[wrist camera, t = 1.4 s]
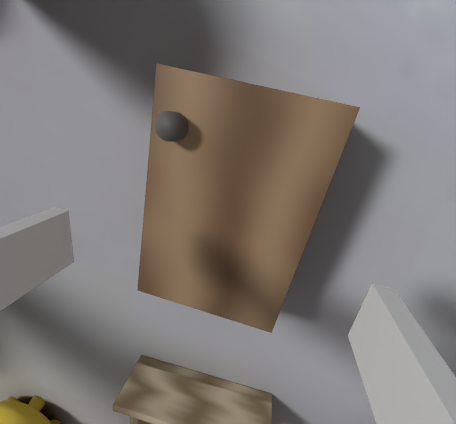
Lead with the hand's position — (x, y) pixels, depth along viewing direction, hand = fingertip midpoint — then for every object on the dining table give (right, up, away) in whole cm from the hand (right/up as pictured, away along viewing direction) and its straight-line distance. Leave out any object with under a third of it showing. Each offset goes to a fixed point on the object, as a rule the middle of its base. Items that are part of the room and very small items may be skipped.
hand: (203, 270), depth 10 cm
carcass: (-3, -26, +21) cm, 34 cm away
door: (+2, +4, +10) cm, 11 cm away
